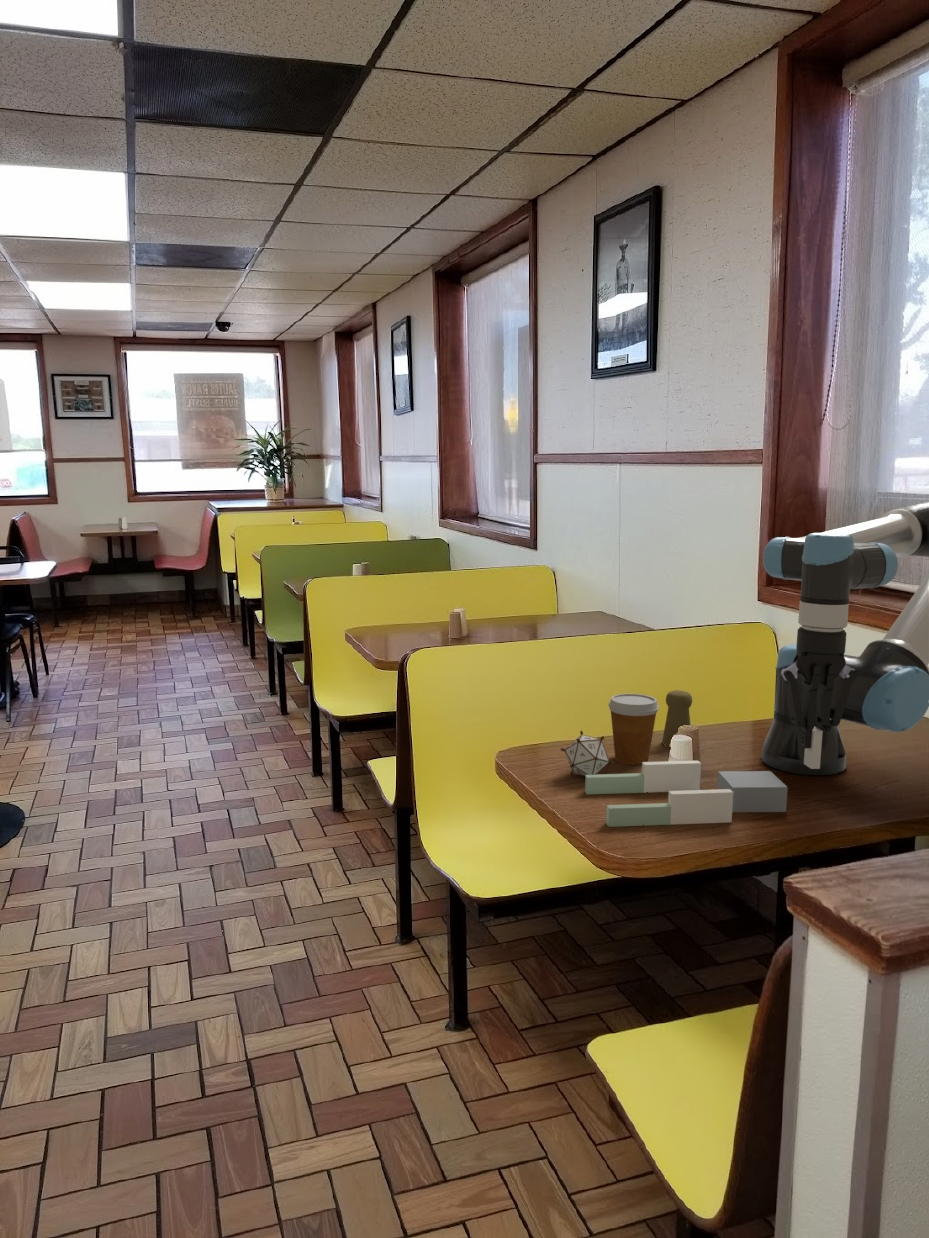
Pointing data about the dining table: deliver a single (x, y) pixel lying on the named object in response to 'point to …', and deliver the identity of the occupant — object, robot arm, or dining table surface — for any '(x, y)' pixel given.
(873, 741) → the dining table surface
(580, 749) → the game die
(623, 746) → the disposable coffee cup
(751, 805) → the slate block
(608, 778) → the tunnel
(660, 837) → the dining table surface
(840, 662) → the robot arm
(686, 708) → the pepper mill
